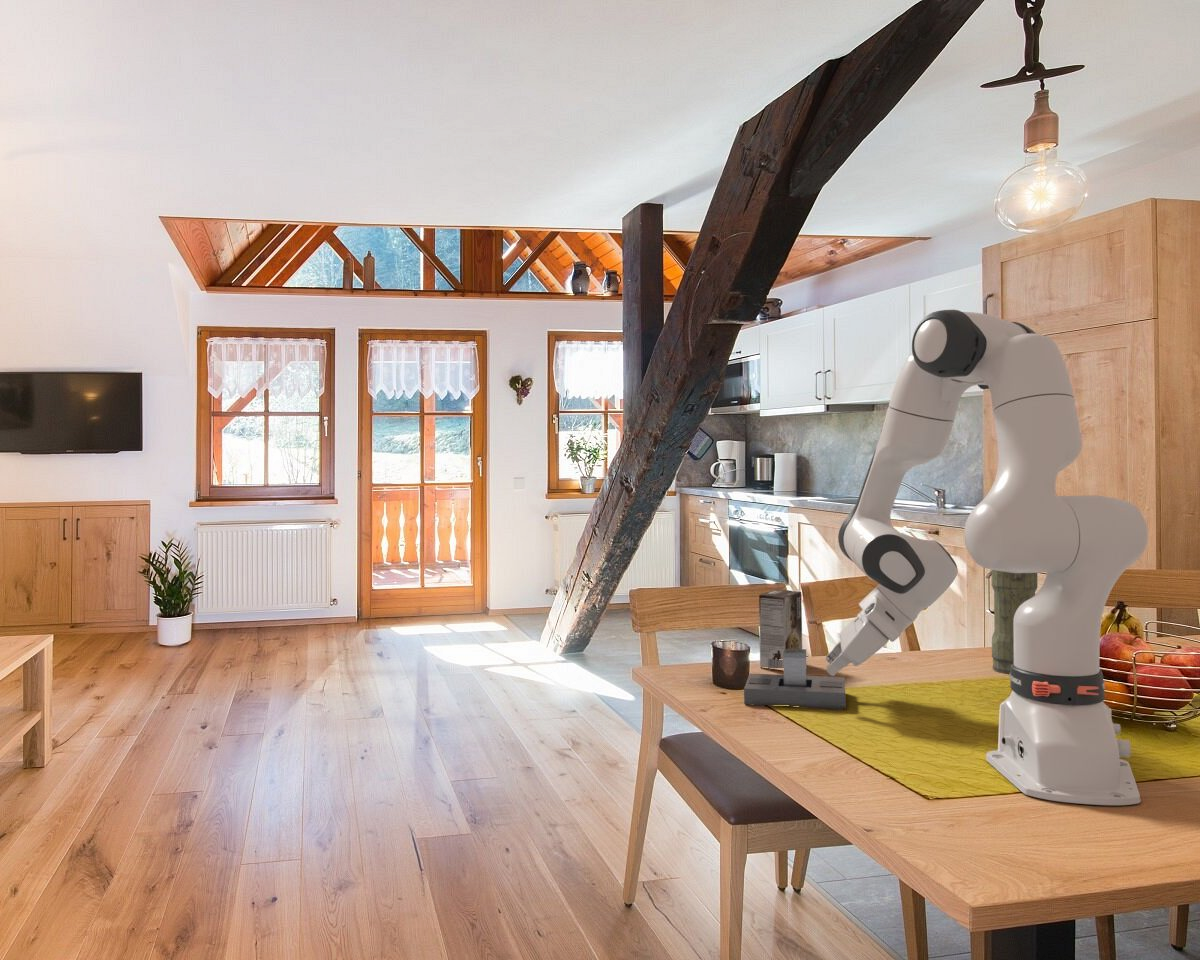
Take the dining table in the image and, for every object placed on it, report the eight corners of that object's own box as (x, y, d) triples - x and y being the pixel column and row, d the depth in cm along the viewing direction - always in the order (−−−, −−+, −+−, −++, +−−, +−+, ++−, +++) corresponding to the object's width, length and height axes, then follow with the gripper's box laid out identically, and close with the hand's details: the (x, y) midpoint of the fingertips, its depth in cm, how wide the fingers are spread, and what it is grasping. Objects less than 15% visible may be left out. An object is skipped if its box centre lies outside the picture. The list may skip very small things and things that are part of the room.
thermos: (1027, 664, 192) (1026, 502, 191) (1047, 677, 180) (1045, 505, 180) (984, 663, 193) (983, 502, 193) (1001, 676, 182) (999, 505, 181)
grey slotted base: (845, 709, 159) (845, 692, 159) (744, 704, 163) (743, 687, 163) (844, 693, 170) (844, 676, 170) (749, 688, 175) (749, 672, 175)
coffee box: (776, 660, 200) (775, 588, 199) (803, 663, 196) (802, 590, 196) (758, 668, 192) (757, 594, 192) (786, 672, 188) (785, 596, 188)
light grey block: (806, 702, 164) (805, 654, 164) (783, 701, 165) (783, 653, 165) (807, 696, 168) (806, 649, 168) (784, 695, 169) (784, 648, 169)
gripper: (867, 595, 173) (816, 643, 175) (873, 611, 153) (815, 665, 155) (891, 618, 172) (839, 667, 174) (900, 637, 152) (842, 692, 154)
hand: (828, 666), depth 165 cm, fingers open, 8 cm apart
